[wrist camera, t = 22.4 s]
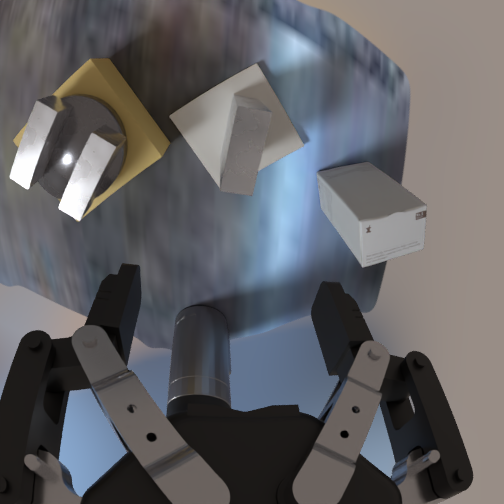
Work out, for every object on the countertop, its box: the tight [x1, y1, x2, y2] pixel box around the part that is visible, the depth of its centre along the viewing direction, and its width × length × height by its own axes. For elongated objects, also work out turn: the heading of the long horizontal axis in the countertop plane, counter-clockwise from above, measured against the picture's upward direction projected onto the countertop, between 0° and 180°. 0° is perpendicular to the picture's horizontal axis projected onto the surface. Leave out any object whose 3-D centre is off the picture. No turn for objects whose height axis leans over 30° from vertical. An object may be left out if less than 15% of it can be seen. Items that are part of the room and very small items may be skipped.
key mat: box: [169, 63, 304, 192], centre depth 36 cm, size 12×12×1 cm
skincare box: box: [317, 162, 427, 267], centre depth 35 cm, size 8×6×15 cm
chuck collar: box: [10, 94, 128, 221], centre depth 27 cm, size 12×12×6 cm
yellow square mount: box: [13, 58, 170, 222], centre depth 32 cm, size 14×14×6 cm
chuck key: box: [220, 94, 273, 196], centre depth 31 cm, size 3×8×11 cm, turn 167°
